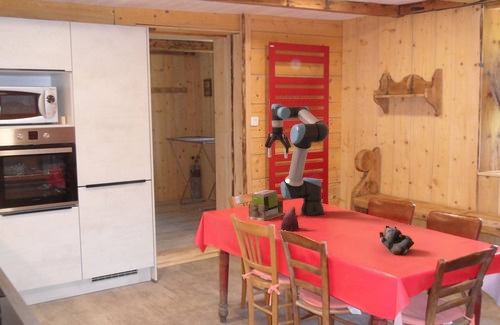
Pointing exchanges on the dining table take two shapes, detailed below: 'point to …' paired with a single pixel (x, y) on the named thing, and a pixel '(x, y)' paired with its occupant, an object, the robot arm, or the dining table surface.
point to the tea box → (266, 200)
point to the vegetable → (290, 221)
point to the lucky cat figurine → (395, 240)
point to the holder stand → (263, 211)
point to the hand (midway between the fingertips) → (277, 157)
